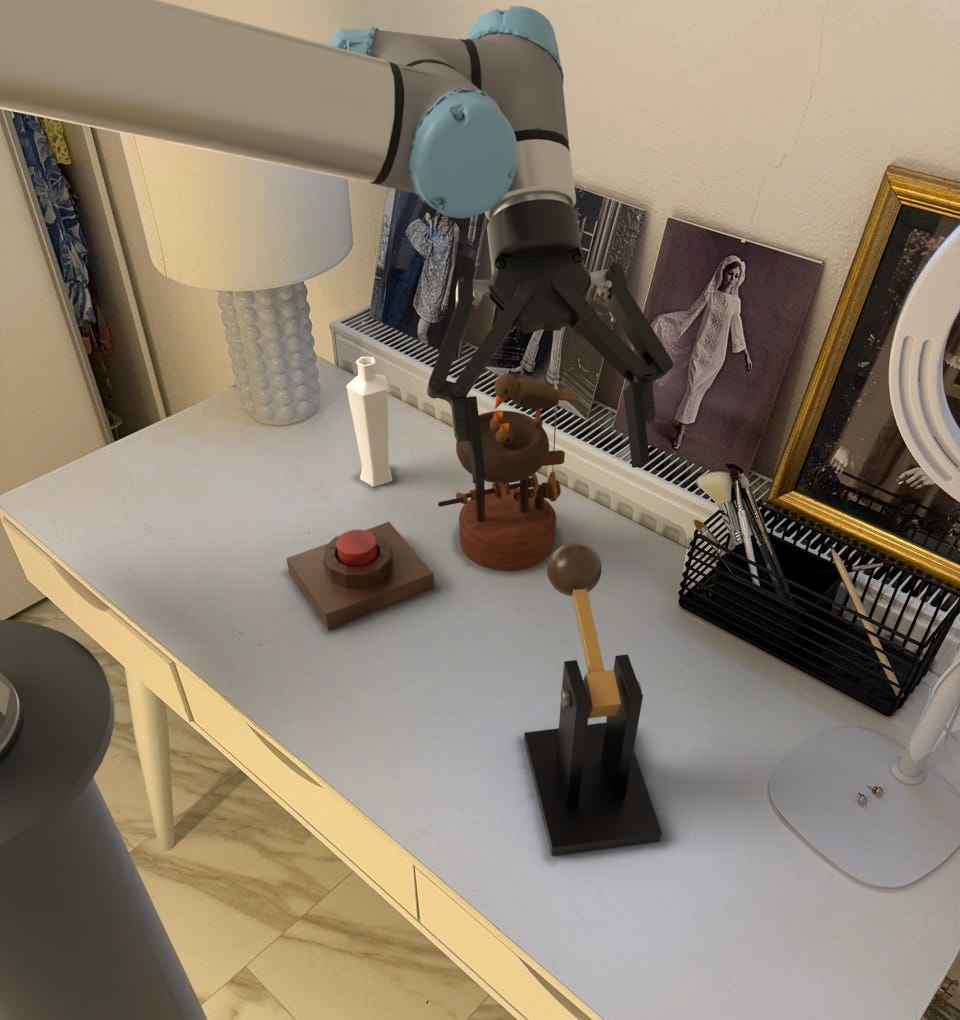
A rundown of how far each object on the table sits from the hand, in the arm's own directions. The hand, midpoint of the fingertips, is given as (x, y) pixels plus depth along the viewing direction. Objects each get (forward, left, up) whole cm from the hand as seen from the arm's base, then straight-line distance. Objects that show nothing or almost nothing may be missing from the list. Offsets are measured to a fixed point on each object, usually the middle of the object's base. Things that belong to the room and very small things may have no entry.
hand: (560, 472), depth 79 cm
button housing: (-11, +18, -20) cm, 30 cm away
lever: (-4, -10, -9) cm, 14 cm away
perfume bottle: (-1, +34, -21) cm, 40 cm away
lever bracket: (-6, -16, -20) cm, 27 cm away
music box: (+5, +16, -21) cm, 27 cm away
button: (-11, +18, -17) cm, 27 cm away
